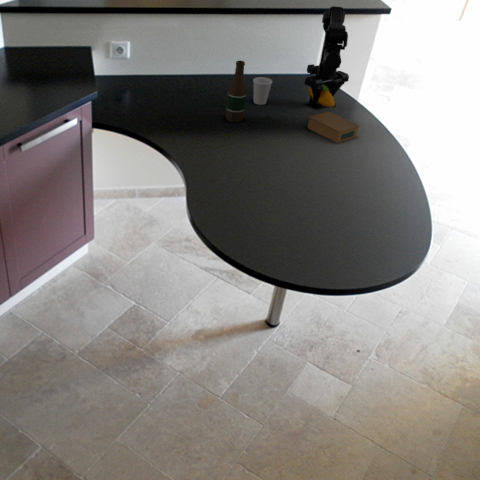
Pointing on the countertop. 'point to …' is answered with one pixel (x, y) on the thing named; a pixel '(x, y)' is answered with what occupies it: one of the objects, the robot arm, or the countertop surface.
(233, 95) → the beer bottle
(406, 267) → the countertop surface
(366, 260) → the countertop surface
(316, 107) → the robot arm
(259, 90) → the dixie cup
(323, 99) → the corn
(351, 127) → the takeaway box
